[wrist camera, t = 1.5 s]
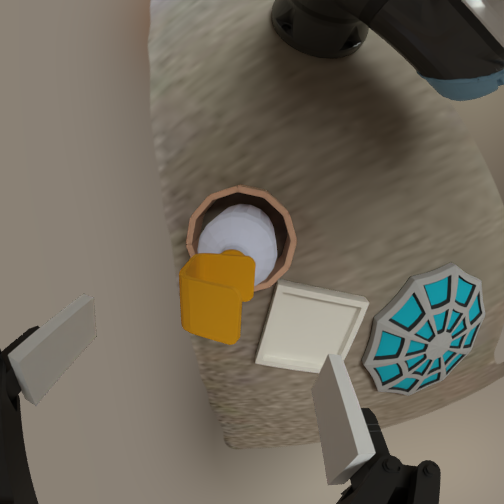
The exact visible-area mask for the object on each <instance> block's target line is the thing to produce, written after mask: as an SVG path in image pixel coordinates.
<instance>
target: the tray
mask: <svg viewBox="0 0 504 504" xmlns="http://www.w3.org/2000/svg"><path fill="white" fill-rule="evenodd" d="M368 305H369V302H368V300H367V299H366V298H365V297H364V296H360V295H355V294H350V293H345V292H340V291H335V290H330V289H325V288H321V287H316V286H311V285H306V284H302V283H297V282H292V281H288V280H283V279H278V280H277V282H276V285H275V289H274V293H273V296H272V300H271V303H270V307H269V310H268V314H267V317H266V321H265V324H264V328H263V331H262V335H261V338H260V342H259V345H258V348H257V352H256V356H255V363H256V364H261V365H267V366H273V367H279V368H285V369H291V370H298V371H306V372H313V373H320V371H321V368H322V366H323V364H324V362H325V360H326V357H327V355H328V354H335V355H341V357H342V359H343V361H344V359H345V357H346V355H347V353H348V351H349V349H350V347H351V345H352V342H353V340H354V338H355V336H356V334H357V331H358V329H359V327H360V324H361V322H362V320H363V317H364V315H365V313H366V310H367V308H368Z"/></svg>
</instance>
